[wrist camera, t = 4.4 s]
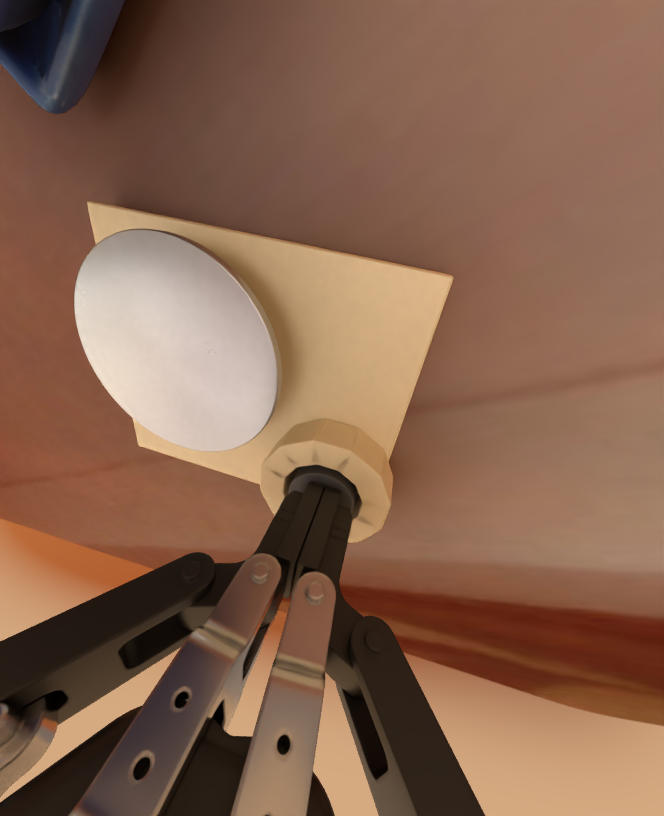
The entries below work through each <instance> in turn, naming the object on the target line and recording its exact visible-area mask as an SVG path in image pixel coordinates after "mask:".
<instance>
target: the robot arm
mask: <svg viewBox="0 0 664 816" xmlns="http://www.w3.org/2000/svg"><path fill="white" fill-rule="evenodd" d="M324 489H325V490H324ZM341 493H342V492H341V491H338V490H335V489H331V488H328V487H326V488H325V486H322V485H318V484H315V483H312V482H308V484H307V486H306V489H305V491H304V493H302V492H299V491H296V490H293V491H292V492H290V493H289V494H288V495H287V496H285V497H284V499H283V501H282V503H281V505H280V507H279V509H278V511H277V513H276V515H275V517H274V518H273V520H272V522H271V524H270V526H269V528H268V530H267V532H266V534H265V535H264V537H263V539H262V541H261V543H260V545H259V547H258V549H257V550H256V552H255V553H254V554H253V555H252V556H251V557H249V558H248V559H246V560H244V561H242V562H238V563H214V561H213V559H212V558H211V557H210V556H209V555H207V554H205V553H200V552H196V553H191V554H188V555H185V556H183V557H181V558H179V559H177V560H175V561H172V562H170V563H168V564H166V565H164V566H162V567H160V568H157V569H155V570H153V571H151V572H149V573H147V574H145V575H142V576H140V577H138V578H136V579H134V580H132V581H129V582H127V583H125V584H123V585H121V586H119V587H117V588H114V589H112V590H110V591H108V592H106V593H104V594H102V595H99V596H97V597H95V598H93V599H91V600H89V601H86V602H84V603H82V604H80V605H78V606H76V607H74V608H72V609H69V610H67V611H65V612H63V613H61V614H59V615H57V616H54V617H52V618H50V619H48V620H46V621H43V622H41V623H39V624H37V625H35V626H33V627H31V628H29V629H26V630H24V631H22V632H20V633H18V634H16V635H14V636H11V637H9V638H7V639H5V640H3V641H0V797H1V796H2V794H3V793H4V792H5V791H6V790H7V789H8V788H9V787H10V786H11V785H12V784H13V783H14V782H16V781H17V780H18V779H19V778H20V777H22V776H23V775H24V774H25V773H27V772H28V771H29V770H30V769H31V768H32V767H33V766H34V765H35V764H36V763H37V762H38V761H39V760H40V759H41V757H42V756H43V755H44V753H45V752H46V750H47V749H48V747H49V745H50V744H51V742H52V740H53V738H54V735H55V733H56V729H57V725H59V724H60V723H62V722H63V721H65V720H66V719H68V718H70V717H71V716H73V715H75V714H76V713H78V712H79V711H81V710H82V709H84V708H86V707H87V706H89V705H90V704H92V703H94V702H95V701H97V700H98V699H100V698H101V697H103V696H104V695H106V694H108V693H109V692H111V691H112V690H114V689H116V688H117V687H119V686H120V685H122V684H124V683H125V682H127V681H128V680H130V679H131V678H133V677H134V676H136V675H138V674H139V673H141V672H142V671H144V670H145V669H147V668H149V667H150V666H152V665H153V664H155V663H157V662H158V661H160V660H161V659H163V658H164V657H166V656H168V655H169V654H171V653H172V652H174V651H175V650H177V649H179V648H180V647H181V648H180V650H179V651H178V653H177V654H176V656H175V657H174V659H173V660H172V662H171V663H170V665H169V667H168V668H167V670H166V671H165V673H164V674H163V676H162V677H161V679H160V680H159V682H158V684H157V685H156V686H155V688H154V689H153V691H152V692H151V694H150V696H149V697H148V698H147V700H146V701H145V703H144V704H143V706H140V707H137V708H135V709H133V710H131V711H129V712H127V713H125V714H123V715H122V716H120V717H118V718H117V719H115V720H114V721H112V722H111V723H110V724H108V725H107V726H105V727H104V728H103V729H102V730H100V731H98V732H97V733H96V734H94V735H93V736H92V737H90V738H89V739H88V740H86V741H85V742H83V743H82V744H81V745H79V746H78V747H76V748H75V749H74V750H72V751H71V752H69V753H68V754H67V755H65V756H64V757H63V758H61V759H60V760H58V761H57V762H56V763H54V764H53V765H51V766H50V767H49V768H47V769H46V770H45V771H43V772H42V773H40V774H39V775H38V776H36V777H35V778H34V779H32V780H31V781H29V782H28V783H27V784H25V785H24V786H22V787H21V788H20V789H18V790H17V791H16V792H14V793H13V794H11V795H10V796H9V797H7V798H6V799H4V800H3V801H2V802H0V816H335V815H334V812H333V809H332V806H331V803H330V801H329V798H328V796H327V794H326V792H325V789H324V788H323V786H322V784H321V783H320V781H319V779H318V778H317V776H316V775H315V774H314V772H313V765H314V758H315V751H316V744H317V737H318V730H319V723H320V716H321V709H322V703H323V695H324V688H325V672H326V673H327V674H328V675H329V676H330V677H331V678H332V679H333V680H334V681H335V682H336V686H337V690H338V693H339V696H340V699H341V702H342V705H343V708H344V711H345V714H346V717H347V720H348V723H349V726H350V729H351V732H352V735H353V738H354V741H355V744H356V747H357V751H358V754H359V756H360V759H361V763H362V765H363V769H364V772H365V775H366V778H367V781H368V784H369V787H370V790H371V793H372V796H373V799H374V802H375V805H376V808H377V811H378V814H379V816H485V814H484V813H483V811H482V809H481V807H480V805H479V803H478V801H477V799H476V797H475V795H474V793H473V791H472V789H471V787H470V785H469V783H468V781H467V779H466V777H465V775H464V773H463V771H462V769H461V767H460V765H459V763H458V761H457V759H456V757H455V755H454V753H453V751H452V749H451V747H450V745H449V743H448V741H447V739H446V737H445V735H444V733H443V731H442V729H441V727H440V725H439V723H438V721H437V719H436V717H435V715H434V713H433V711H432V709H431V708H430V705H429V703H428V701H427V699H426V697H425V695H424V693H423V691H422V689H421V687H420V686H419V683H418V681H417V679H416V678H415V675H414V674H413V672H412V670H411V668H410V666H409V664H408V662H407V660H406V658H405V656H404V654H403V652H402V650H401V648H400V646H399V644H398V642H397V640H396V638H395V636H394V634H393V632H392V630H391V629H390V627H389V626H388V625H387V624H386V623H385V622H384V621H383V620H381V619H380V618H378V617H375V616H365V617H363V616H362V615H361V614H359V613H358V612H357V611H356V610H354V609H353V608H352V607H351V606H350V605H349V604H348V603H347V602H346V601H345V599H344V598H343V596H342V593H341V590H340V586H339V579H340V574H341V569H342V565H343V560H344V556H345V551H346V547H347V543H348V538H349V534H350V529H351V525H352V521H353V518H352V513H351V509H350V508H349V507H346V506H343V505H340V504H339V501H340V497H341ZM292 589H293V590H292ZM291 592H292V595H291ZM290 595H291V603H290V607H289V610H288V614H287V617H286V621H285V625H284V629H283V632H282V636H281V639H280V643H279V647H278V650H277V654H276V657H275V660H274V662H273V665H272V669H271V672H270V676H269V679H268V683H267V686H266V690H265V693H264V697H263V701H262V704H261V708H260V711H259V715H258V719H257V722H256V726H255V730H254V733H253V737H246V736H244V737H243V736H231V735H229V734H228V733H227V732H226V731H227V728H228V726H229V724H230V721H231V719H232V717H233V715H234V713H235V710H236V708H237V705H238V703H239V700H240V697H241V695H242V691H243V688H244V685H245V683H246V681H247V678H248V676H249V674H250V671H251V669H252V667H253V665H254V663H255V661H256V658H257V656H258V654H259V652H260V649H261V647H262V645H263V643H264V641H265V639H266V636H267V634H268V632H269V630H270V628H271V625H272V623H273V621H274V618H275V616H276V614H277V611H278V608H279V606H280V603H281V600H282V598H283V597H285V598H288V599H289V597H290Z"/></svg>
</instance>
